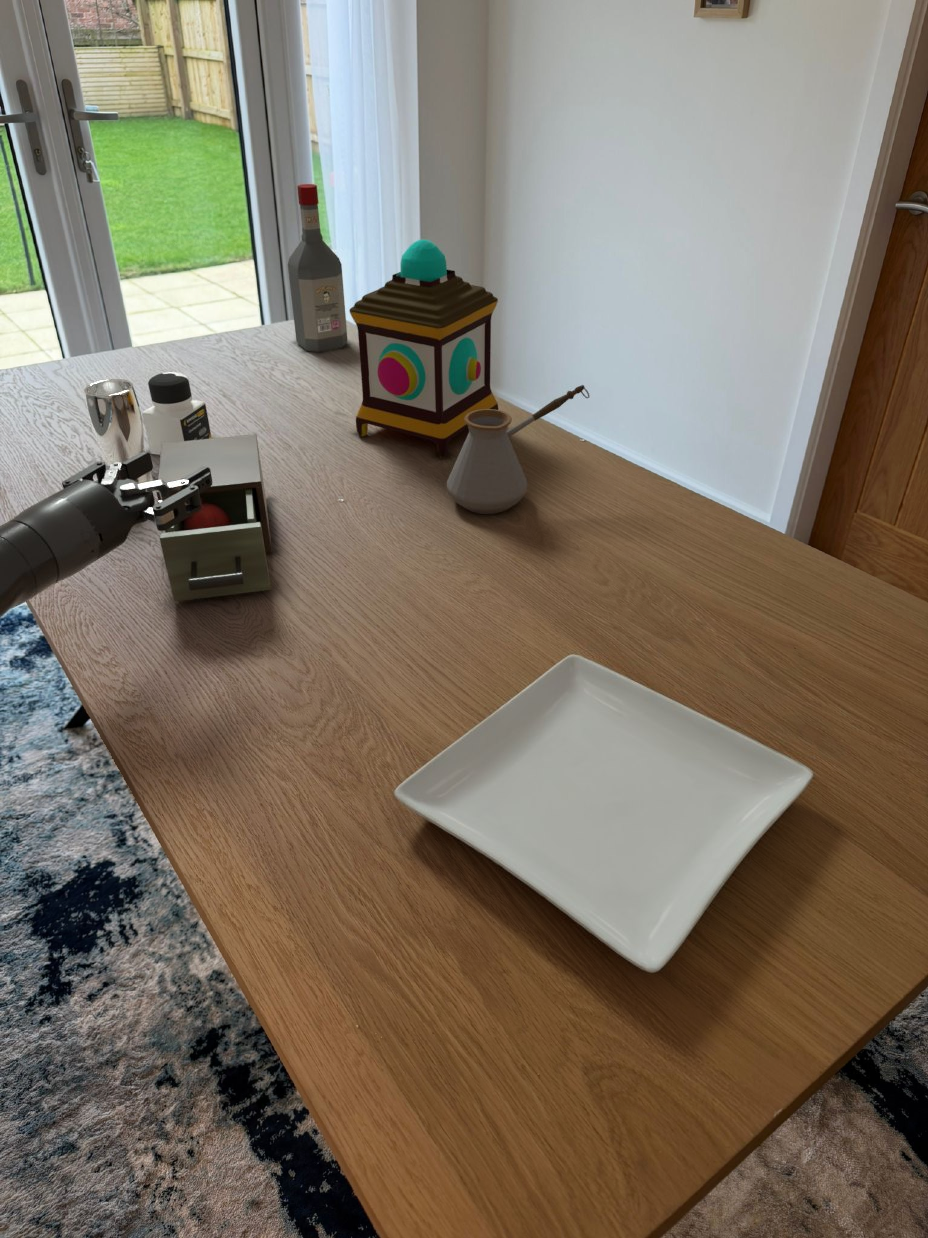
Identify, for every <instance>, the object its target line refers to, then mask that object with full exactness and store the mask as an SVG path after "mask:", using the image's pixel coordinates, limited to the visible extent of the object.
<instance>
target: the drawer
mask: <svg viewBox="0 0 928 1238" xmlns="http://www.w3.org/2000/svg"><path fill="white" fill-rule="evenodd" d="M199 495H200V498H202V500H203V502H205V503H209V504H214V505H216V506H218V507H220V508H221V509H222V510H223V511H224V512H226V514H227V515H228V516H229V518H230V520H231V524H232V525H229V526H221V527H212V528H203V529H194V530H185V531H184V521H185V519H184V520H183V521H181V522H179V523H178V524H176V525H174V526H172V527H171V528H169V529H167V531H168V533H166V532H160V533H159V542H160V547H161V551H162V555H163V559H164V564H165V568H166V573H167V577H168V581H169V585H170V589H171V594H172V598H173V601H174V603H175V602H183V601H192V600H198V599H207V598H216V597H223V596H229V595H239V594H245V593H254V592H261V591H269V590H271V589H272V587H271V580H270V579H271V578H270V573H269V567H268V560H267V555H266V554H267V553H265V547H264V540H263V534H262V528H261V522H258V520H257V513H256V507H255V501H254V494H253V488H246V489H237V490H227V491H218V492H208V493H200V494H199ZM186 506H188V505H185V507H186Z"/></svg>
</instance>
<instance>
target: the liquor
mask: <svg viewBox="0 0 928 1238" xmlns="http://www.w3.org/2000/svg"><path fill="white" fill-rule="evenodd" d="M296 186H297V187H296V188H297V197H298V204H299V211H300V219H301V220H300V221H301V236H300V237H301V241H300V242H299V243H298V245H297V246H296V248H295V249H294V250H293V252H292V254H291V255H290V257H289V258H288V263H287V270H288V279H289V287H290V297H291V305H292V315H293V322H294V323H293V324H294V332H295V341H296V343H297V344H298V345H299V346H300V347H301V348H302V349H304V350H305V351H307V352H314V353H321V352H322V353H323V352H327V351H333V350H337V349H338V350H339V349H342V348H343V347H345V346H346V345H347V343H348V329H347V328H348V327H347V316H346V314H347V313H346V302H345V292H344V291H345V290H344V279H343V277H344V276H343V266H342V265H343V264H342V262H341V260H340V258H339V256H338V255H337V254H336V253H335V252H334V251H333V250H332V249H331V248H330V247H329V245H328V244H327V243H326V242H325V241H324V240H323V239H324V237H323V235H322V232H321V223H320V213H319V194H318V185H317V184H314V183H304V184H302V183H301V184H298V185H296Z"/></svg>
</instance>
